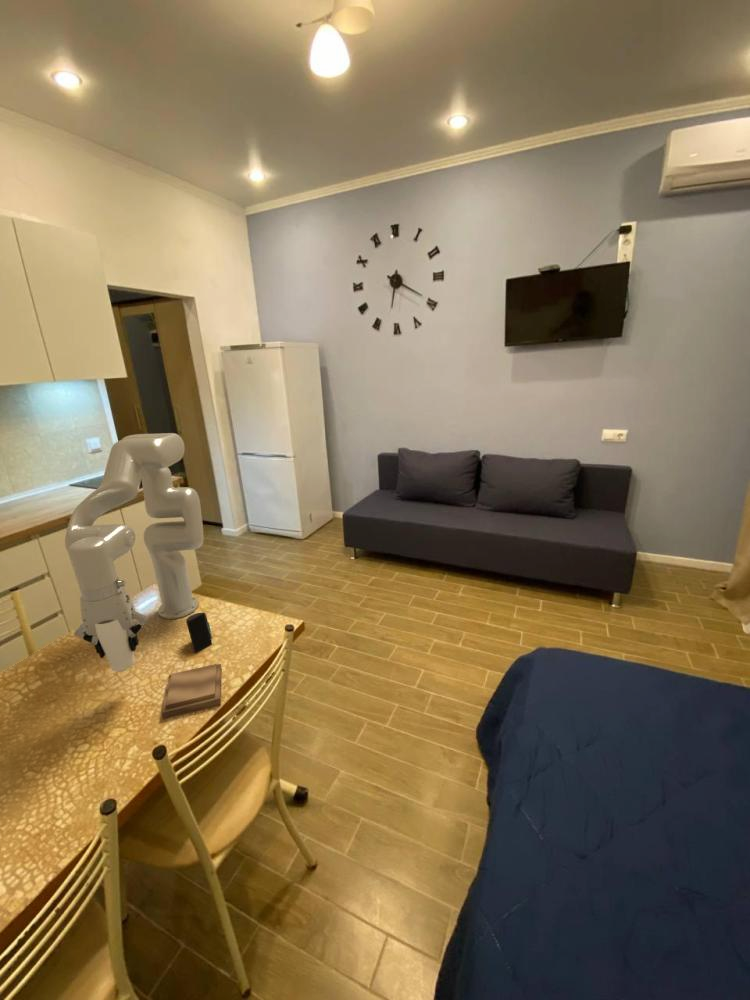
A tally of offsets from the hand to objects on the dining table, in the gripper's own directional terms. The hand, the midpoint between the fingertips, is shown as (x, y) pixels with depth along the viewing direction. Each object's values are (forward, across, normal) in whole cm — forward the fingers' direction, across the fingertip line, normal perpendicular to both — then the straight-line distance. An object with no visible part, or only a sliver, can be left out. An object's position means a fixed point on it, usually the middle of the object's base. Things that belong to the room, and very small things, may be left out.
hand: (119, 650), depth 104 cm
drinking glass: (+5, 0, 0) cm, 5 cm away
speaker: (+14, -16, -14) cm, 26 cm away
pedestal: (+13, -16, +6) cm, 21 cm away
